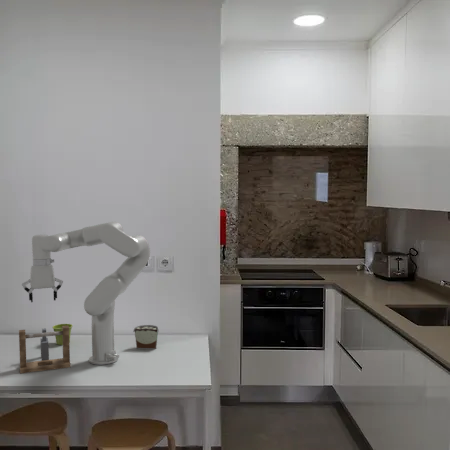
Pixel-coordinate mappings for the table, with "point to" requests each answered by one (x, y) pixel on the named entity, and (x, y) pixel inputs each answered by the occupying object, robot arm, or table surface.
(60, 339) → the plant pot
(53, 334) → the rack
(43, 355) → the stepped gray bar
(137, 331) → the food container
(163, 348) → the table surface
